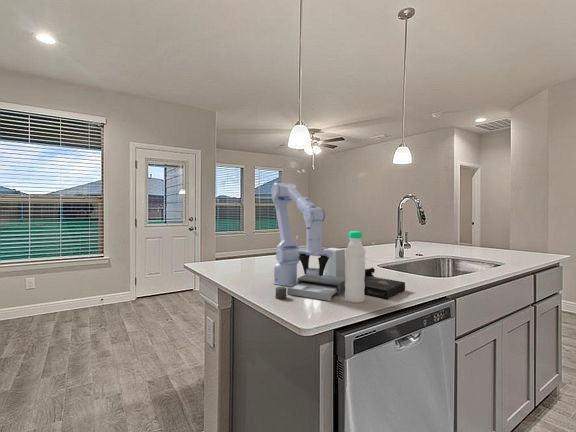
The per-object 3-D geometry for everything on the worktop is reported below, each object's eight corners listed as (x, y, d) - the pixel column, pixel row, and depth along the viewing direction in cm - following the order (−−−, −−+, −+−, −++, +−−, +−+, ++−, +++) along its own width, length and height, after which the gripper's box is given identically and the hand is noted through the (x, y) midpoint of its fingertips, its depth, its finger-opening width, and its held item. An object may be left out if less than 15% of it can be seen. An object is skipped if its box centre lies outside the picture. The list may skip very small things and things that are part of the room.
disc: (303, 274, 120) (303, 269, 120) (310, 271, 125) (310, 266, 125) (317, 276, 117) (317, 271, 117) (323, 273, 122) (323, 268, 122)
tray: (287, 294, 122) (287, 287, 122) (299, 287, 131) (299, 281, 131) (330, 301, 113) (330, 294, 113) (340, 293, 123) (340, 287, 123)
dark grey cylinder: (273, 298, 117) (273, 288, 117) (278, 295, 120) (278, 286, 120) (283, 299, 115) (283, 290, 115) (288, 297, 118) (288, 287, 118)
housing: (297, 289, 130) (297, 278, 129) (308, 283, 139) (308, 273, 139) (339, 295, 121) (339, 283, 121) (348, 288, 131) (348, 278, 131)
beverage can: (374, 285, 143) (353, 281, 152) (375, 267, 144) (355, 264, 153) (361, 284, 137) (340, 280, 147) (362, 266, 138) (342, 263, 148)
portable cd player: (405, 291, 129) (405, 281, 128) (387, 301, 116) (387, 290, 116) (368, 284, 140) (368, 275, 139) (347, 292, 127) (347, 282, 127)
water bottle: (342, 297, 118) (343, 230, 117) (360, 297, 119) (362, 230, 118) (347, 303, 111) (348, 232, 110) (367, 303, 112) (368, 232, 111)
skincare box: (346, 282, 141) (346, 249, 140) (335, 284, 137) (336, 250, 137) (333, 278, 148) (333, 247, 147) (323, 280, 144) (323, 248, 144)
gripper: (292, 239, 121) (292, 274, 121) (328, 241, 114) (327, 278, 114) (300, 237, 127) (300, 271, 127) (334, 239, 120) (334, 275, 121)
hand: (313, 274), depth 121 cm, fingers closed on disc, 6 cm apart
